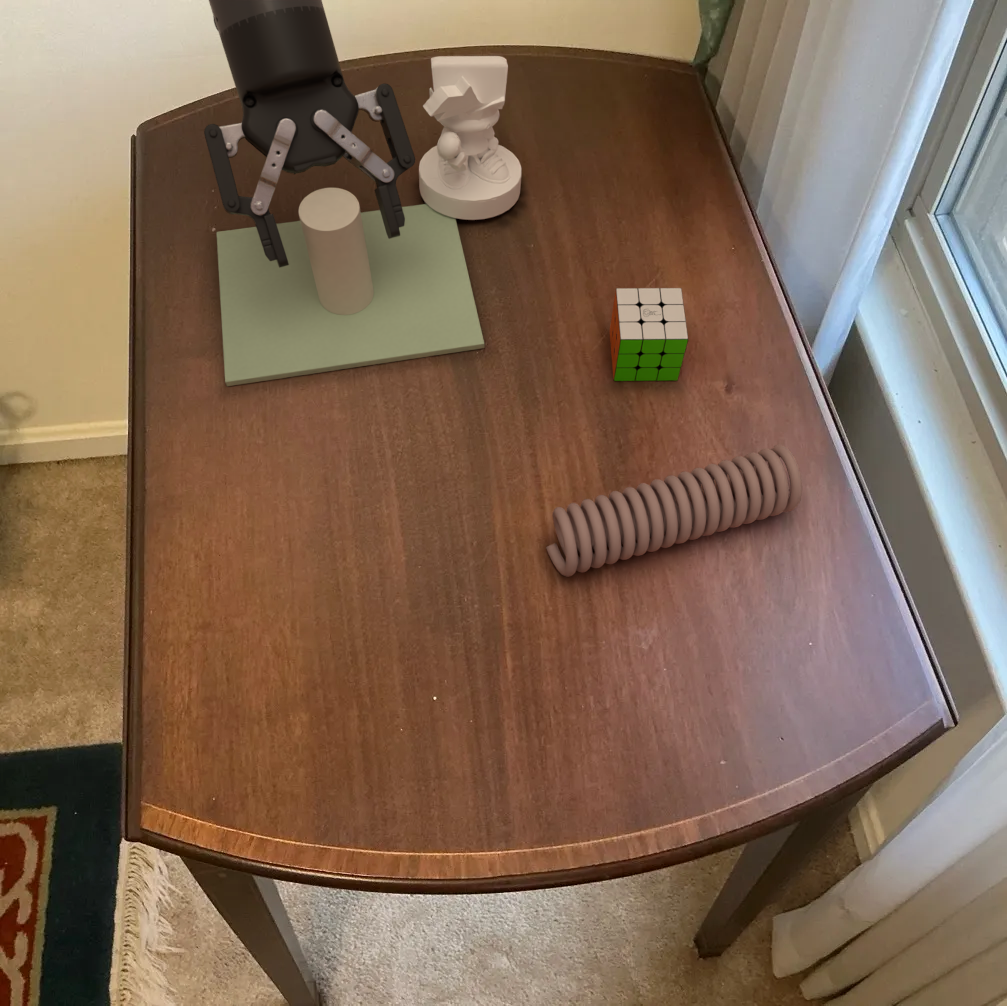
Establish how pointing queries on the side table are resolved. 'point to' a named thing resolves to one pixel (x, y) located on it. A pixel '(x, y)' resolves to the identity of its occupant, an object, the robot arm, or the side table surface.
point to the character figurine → (468, 140)
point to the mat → (345, 338)
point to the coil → (675, 509)
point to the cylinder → (337, 250)
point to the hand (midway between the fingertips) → (340, 251)
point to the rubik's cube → (648, 334)
